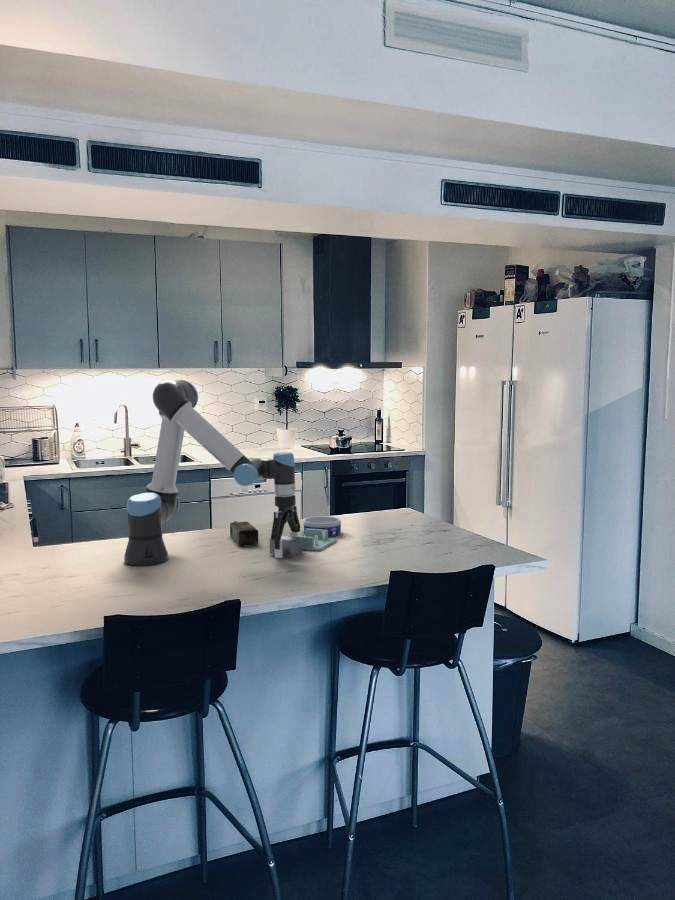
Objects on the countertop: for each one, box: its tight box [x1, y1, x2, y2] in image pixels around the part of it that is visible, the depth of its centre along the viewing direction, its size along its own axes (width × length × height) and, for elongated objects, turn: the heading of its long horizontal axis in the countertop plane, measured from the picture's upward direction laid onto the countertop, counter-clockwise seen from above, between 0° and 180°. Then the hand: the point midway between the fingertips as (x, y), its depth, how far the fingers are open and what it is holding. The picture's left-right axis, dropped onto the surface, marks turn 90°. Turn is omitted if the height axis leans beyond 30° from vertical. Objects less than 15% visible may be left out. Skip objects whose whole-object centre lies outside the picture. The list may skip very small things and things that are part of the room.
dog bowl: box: [303, 515, 342, 538], centre depth 297 cm, size 15×15×6 cm
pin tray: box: [298, 528, 338, 552], centre depth 278 cm, size 16×16×4 cm
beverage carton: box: [229, 521, 259, 547], centre depth 286 cm, size 8×19×7 cm, turn 19°
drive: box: [269, 535, 304, 558], centre depth 264 cm, size 10×6×6 cm, turn 64°
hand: (286, 553), depth 264 cm, fingers open, 12 cm apart
